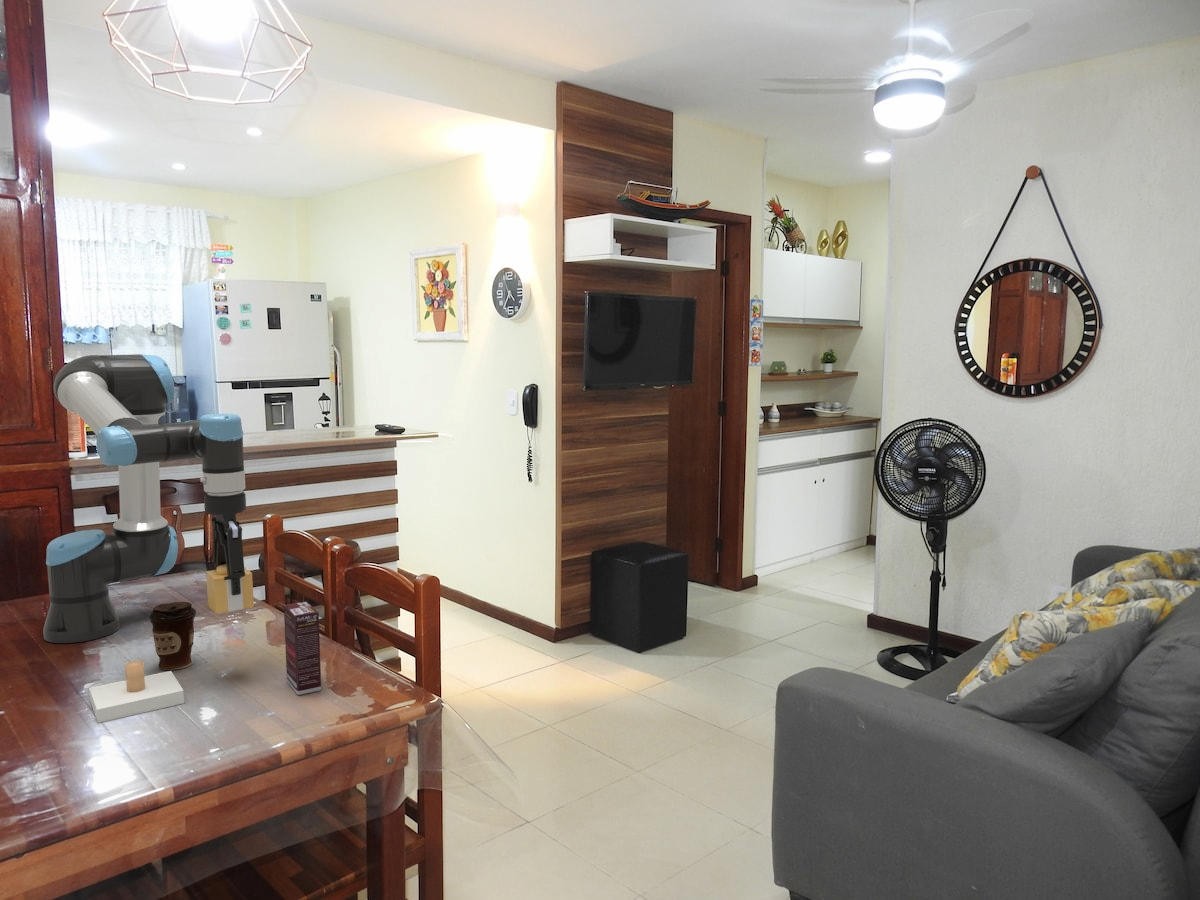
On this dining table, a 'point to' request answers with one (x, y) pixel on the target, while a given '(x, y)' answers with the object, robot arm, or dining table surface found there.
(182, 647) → the coffee cup
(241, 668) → the dining table surface
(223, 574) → the cube with hemisphere knob
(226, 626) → the dining table surface
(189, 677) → the dining table surface
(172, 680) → the white rectangular block
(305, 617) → the supplement box
